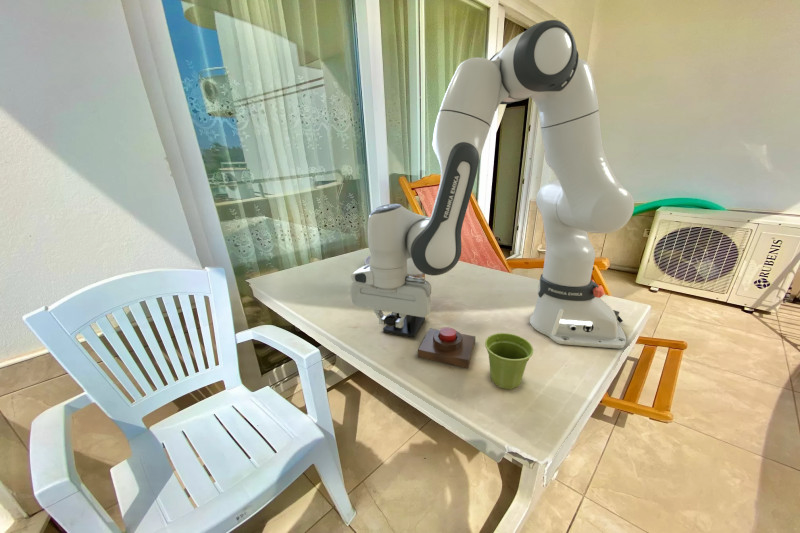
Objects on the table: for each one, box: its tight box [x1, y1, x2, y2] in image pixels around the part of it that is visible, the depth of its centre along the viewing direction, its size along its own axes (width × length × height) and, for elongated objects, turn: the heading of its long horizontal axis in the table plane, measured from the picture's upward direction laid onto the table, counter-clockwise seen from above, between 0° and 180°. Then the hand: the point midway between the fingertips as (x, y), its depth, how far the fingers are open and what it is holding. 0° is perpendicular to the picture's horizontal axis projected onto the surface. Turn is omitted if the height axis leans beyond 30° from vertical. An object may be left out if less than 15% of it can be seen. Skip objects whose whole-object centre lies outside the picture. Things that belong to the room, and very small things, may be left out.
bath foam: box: [407, 258, 426, 280], centre depth 96 cm, size 7×7×20 cm
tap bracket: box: [382, 313, 426, 339], centre depth 84 cm, size 10×9×13 cm
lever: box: [385, 312, 397, 327], centre depth 79 cm, size 13×3×3 cm, turn 158°
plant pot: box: [484, 332, 534, 390], centre depth 64 cm, size 9×9×9 cm
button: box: [439, 326, 457, 342], centre depth 74 cm, size 4×4×2 cm
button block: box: [417, 327, 476, 369], centre depth 75 cm, size 12×10×4 cm
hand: (391, 325), depth 76 cm, fingers closed on lever, 3 cm apart
